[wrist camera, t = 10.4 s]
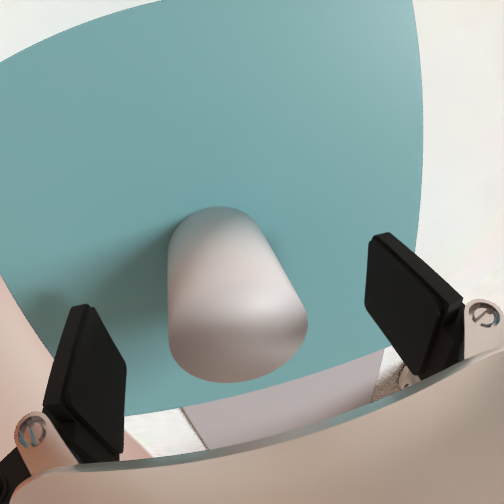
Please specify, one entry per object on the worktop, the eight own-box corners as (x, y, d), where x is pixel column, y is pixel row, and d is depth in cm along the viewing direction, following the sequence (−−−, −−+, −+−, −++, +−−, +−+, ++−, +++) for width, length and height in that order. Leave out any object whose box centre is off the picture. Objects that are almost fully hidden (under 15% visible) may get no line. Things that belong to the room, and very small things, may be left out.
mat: (386, 323, 30) (389, 326, 30) (362, 422, 42) (363, 424, 41) (170, 383, 28) (170, 387, 27) (220, 464, 39) (221, 467, 39)
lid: (401, 0, 10) (500, -11, 5) (391, 335, 20) (435, 396, 15) (-50, 100, 7) (-140, 129, 3) (104, 409, 18) (101, 485, 13)
